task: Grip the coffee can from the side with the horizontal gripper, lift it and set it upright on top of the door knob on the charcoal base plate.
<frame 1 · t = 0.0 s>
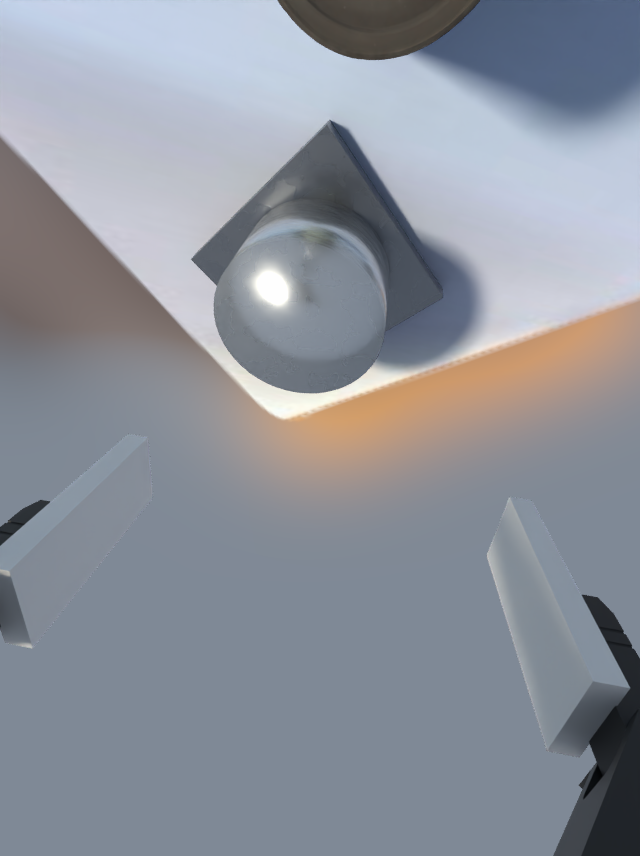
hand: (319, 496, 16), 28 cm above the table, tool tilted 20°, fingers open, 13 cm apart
door knob: (317, 270, 39), on the table
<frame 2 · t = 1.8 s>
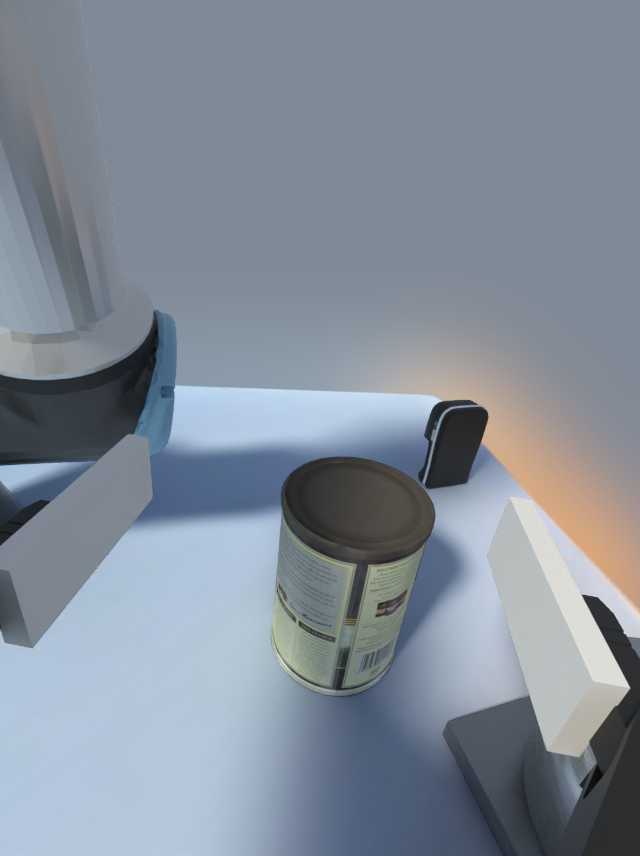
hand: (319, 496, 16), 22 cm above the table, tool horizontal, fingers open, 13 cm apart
coffee can: (331, 635, 35), on the table
door knob: (631, 841, 25), on the table
battery charger: (438, 480, 58), on the table
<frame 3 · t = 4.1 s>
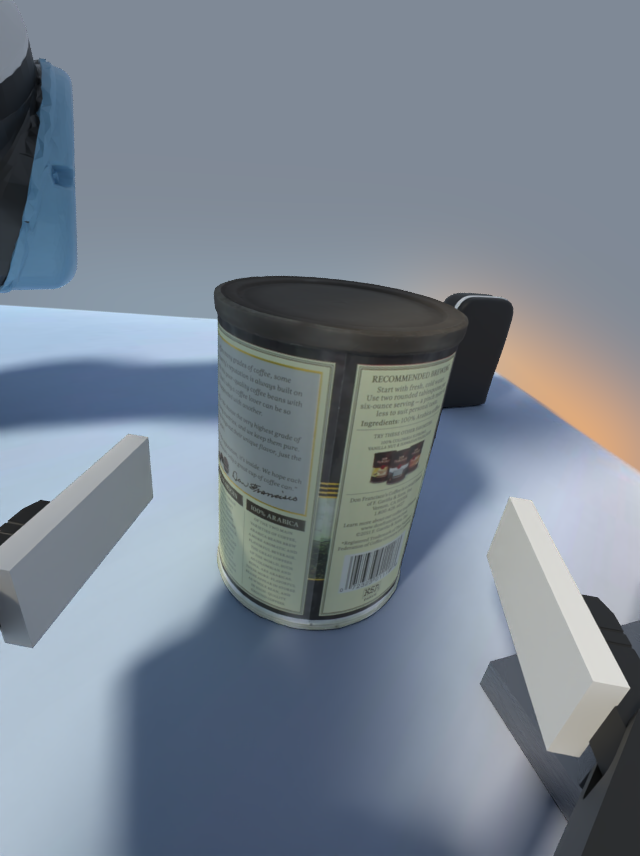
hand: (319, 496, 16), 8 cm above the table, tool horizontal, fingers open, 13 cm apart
coffee can: (308, 554, 24), on the table
battery charger: (449, 402, 47), on the table
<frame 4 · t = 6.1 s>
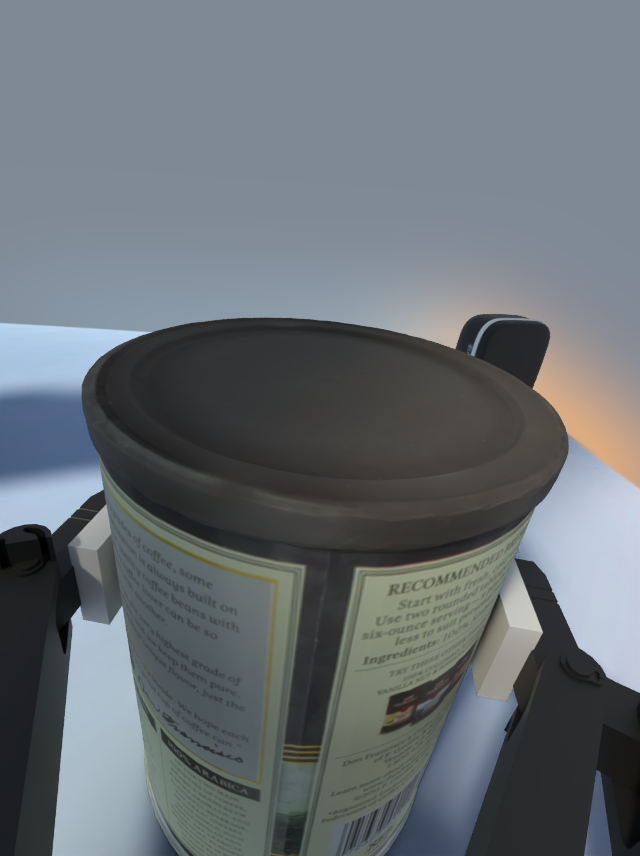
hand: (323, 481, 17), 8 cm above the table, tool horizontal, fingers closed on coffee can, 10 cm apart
coffee can: (285, 719, 17), on the table, touching gripper
battery charger: (469, 442, 39), on the table
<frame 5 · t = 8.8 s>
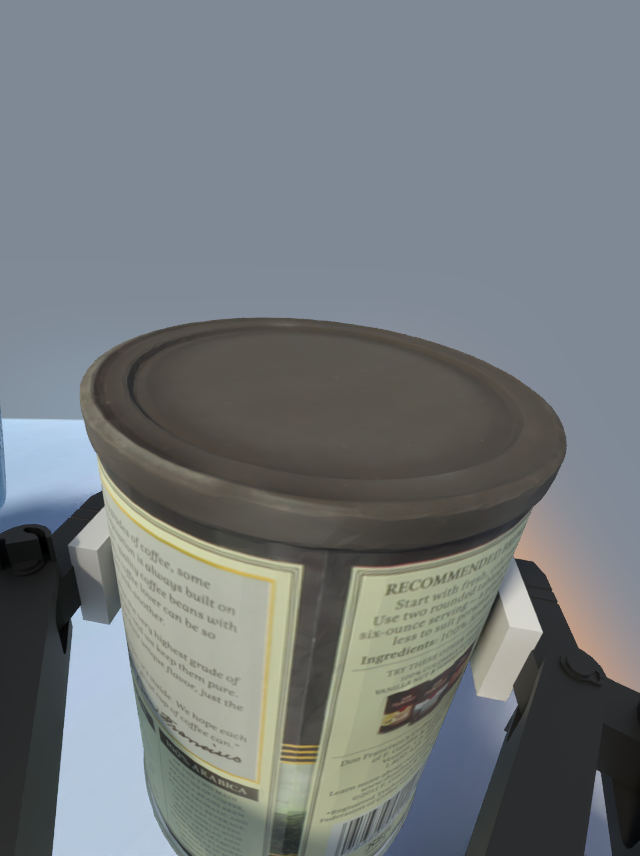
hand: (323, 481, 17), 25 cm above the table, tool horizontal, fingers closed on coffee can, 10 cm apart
coffee can: (284, 718, 17), point 17 cm above the table, touching gripper
when the fingers open (19 cm above the table, at t = 11.8 s): coffee can drops 1 cm, resting on door knob.
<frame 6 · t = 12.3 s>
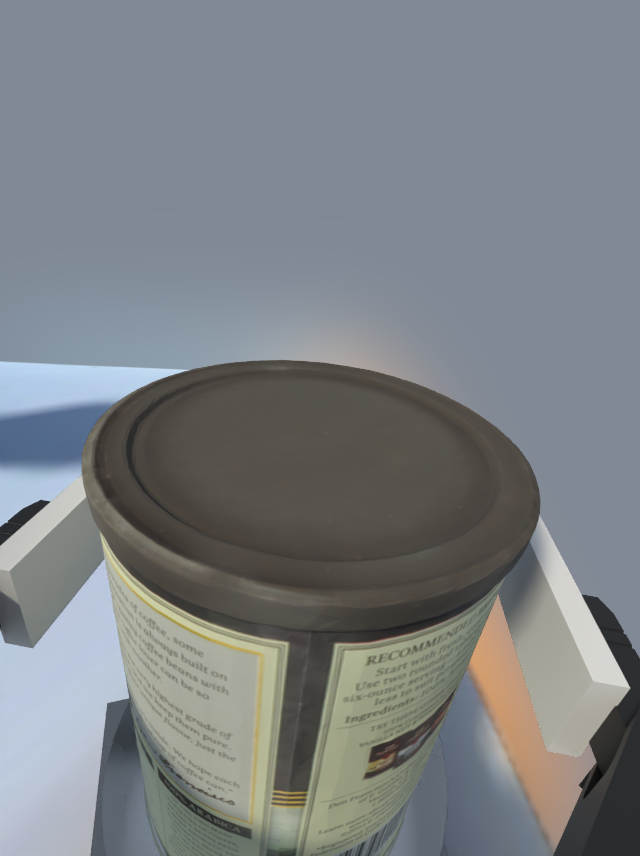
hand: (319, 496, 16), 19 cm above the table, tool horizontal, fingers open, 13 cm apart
coffee can: (279, 742, 17), point 9 cm above the table, touching door knob
door knob: (269, 840, 21), on the table
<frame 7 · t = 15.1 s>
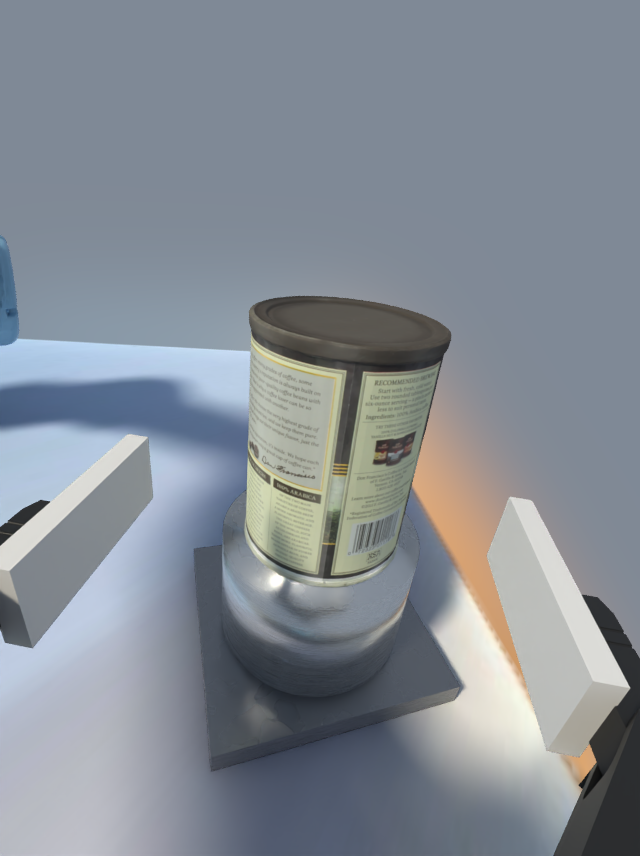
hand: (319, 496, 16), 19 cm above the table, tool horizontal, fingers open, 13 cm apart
coffee can: (320, 530, 29), point 9 cm above the table, touching door knob
door knob: (308, 622, 33), on the table
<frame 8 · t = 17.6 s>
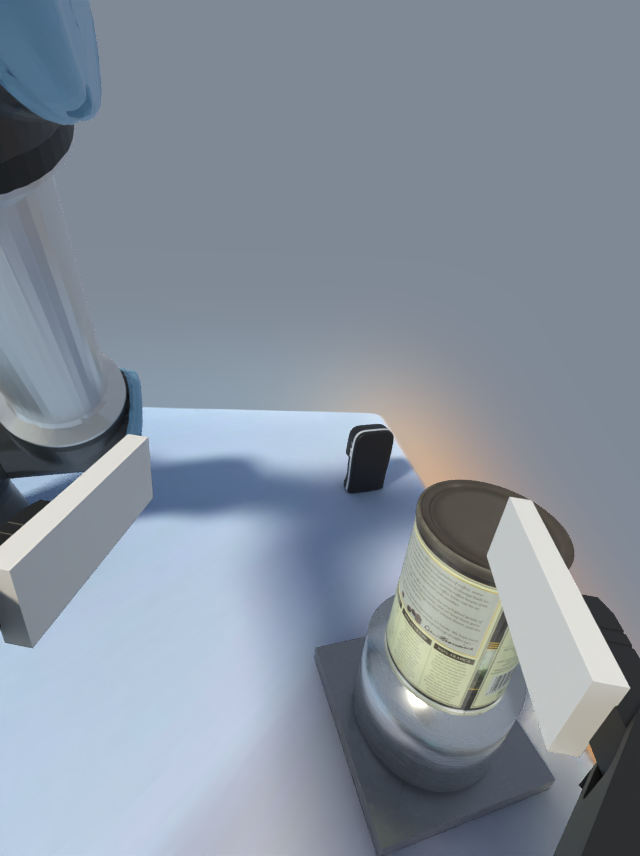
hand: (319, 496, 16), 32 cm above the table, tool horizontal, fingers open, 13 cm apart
coffee can: (442, 654, 36), point 9 cm above the table, touching door knob
door knob: (419, 716, 40), on the table
battery charger: (360, 486, 73), on the table
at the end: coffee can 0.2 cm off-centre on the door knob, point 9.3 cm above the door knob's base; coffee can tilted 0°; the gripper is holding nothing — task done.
